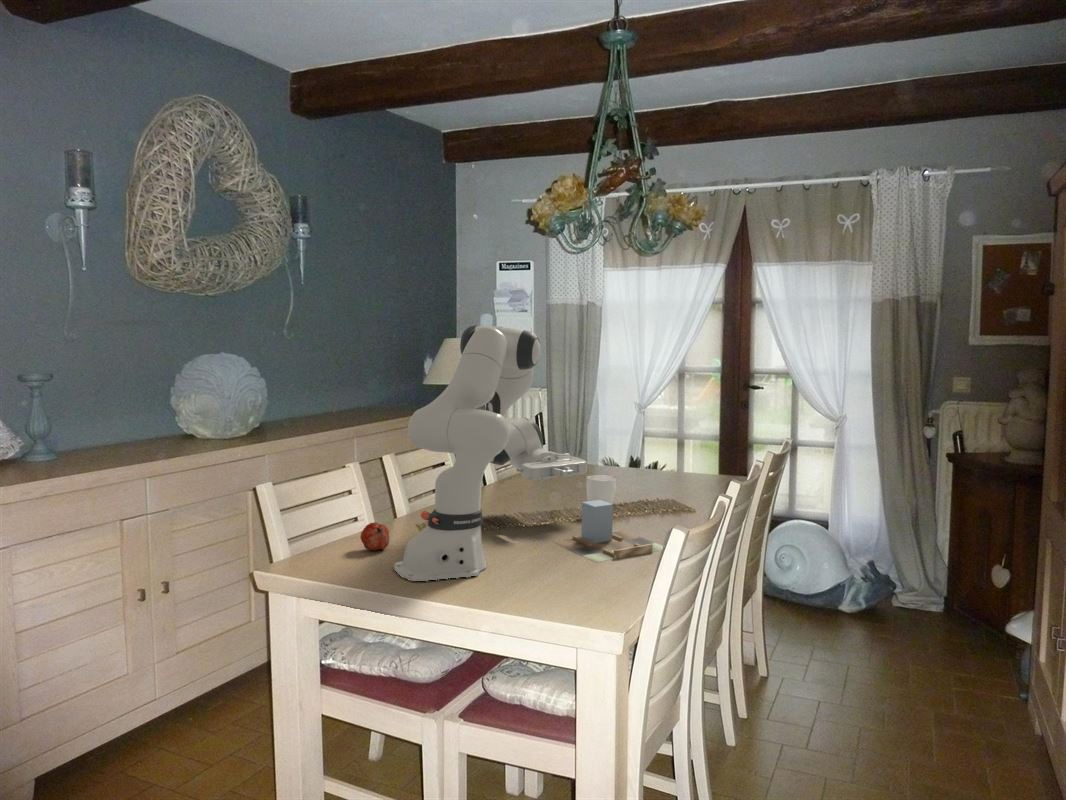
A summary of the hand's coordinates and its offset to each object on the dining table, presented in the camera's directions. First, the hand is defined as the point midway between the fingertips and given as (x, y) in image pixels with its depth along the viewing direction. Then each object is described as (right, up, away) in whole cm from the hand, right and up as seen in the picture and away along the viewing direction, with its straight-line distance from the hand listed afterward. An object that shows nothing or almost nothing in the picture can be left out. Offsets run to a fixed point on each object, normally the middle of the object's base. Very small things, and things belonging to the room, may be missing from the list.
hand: (568, 473), depth 225 cm
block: (+7, -17, -11) cm, 21 cm away
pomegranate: (-52, -18, -20) cm, 58 cm away
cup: (+11, -15, +18) cm, 26 cm away
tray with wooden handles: (+10, -18, -17) cm, 27 cm away
